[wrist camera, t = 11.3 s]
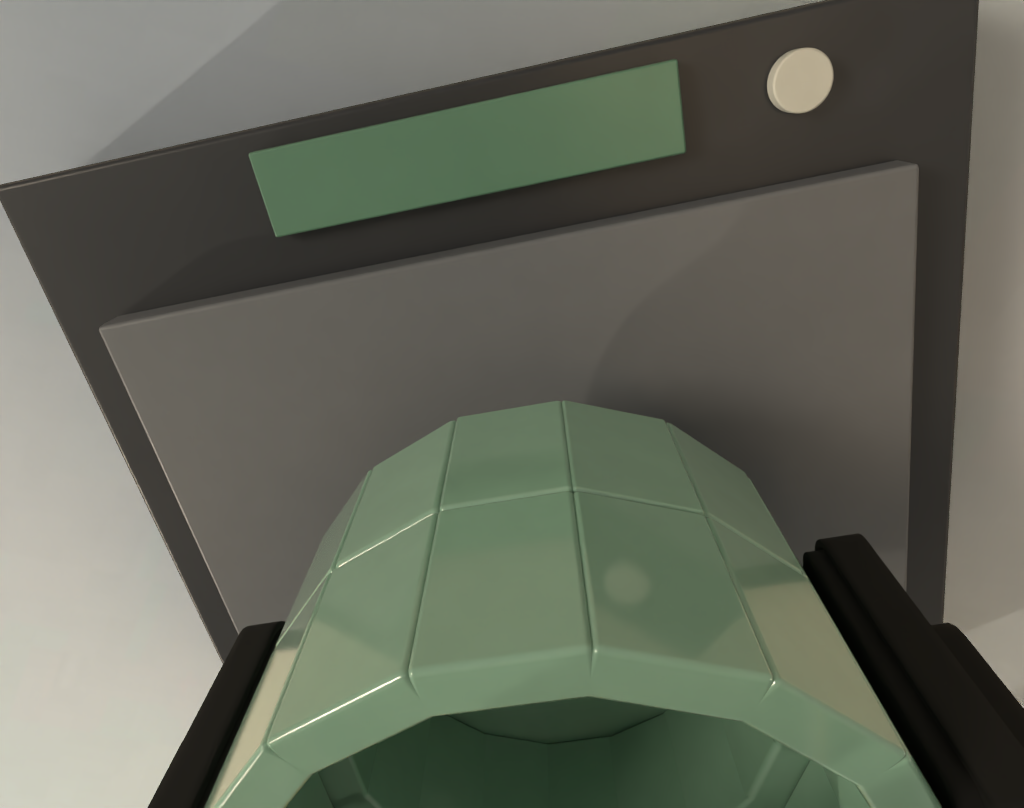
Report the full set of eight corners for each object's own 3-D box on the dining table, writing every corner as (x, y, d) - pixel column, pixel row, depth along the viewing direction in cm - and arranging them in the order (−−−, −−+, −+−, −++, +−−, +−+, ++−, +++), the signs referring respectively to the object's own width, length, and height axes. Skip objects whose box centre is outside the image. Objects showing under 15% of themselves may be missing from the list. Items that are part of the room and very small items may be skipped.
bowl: (264, 430, 10) (49, 721, 5) (768, 345, 9) (1003, 592, 5) (391, 770, 13) (319, 1150, 8) (784, 722, 12) (941, 1104, 8)
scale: (70, 171, 12) (-39, 192, 10) (907, -15, 11) (1013, -44, 9) (318, 742, 18) (286, 843, 15) (892, 666, 16) (954, 763, 14)
